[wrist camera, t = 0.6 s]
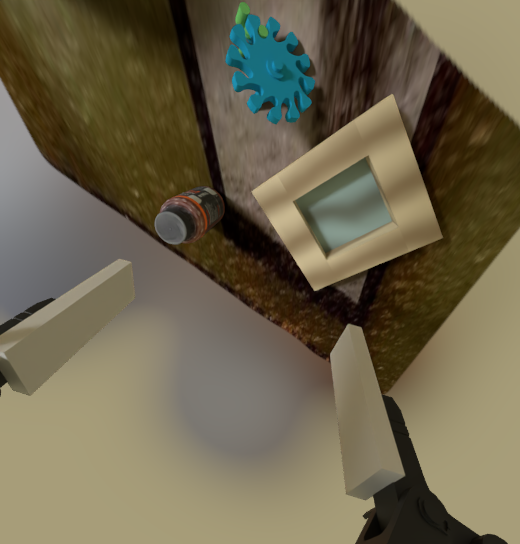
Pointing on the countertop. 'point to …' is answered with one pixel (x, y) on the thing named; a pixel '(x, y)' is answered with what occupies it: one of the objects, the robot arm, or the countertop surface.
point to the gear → (268, 66)
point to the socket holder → (352, 199)
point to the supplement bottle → (189, 215)
